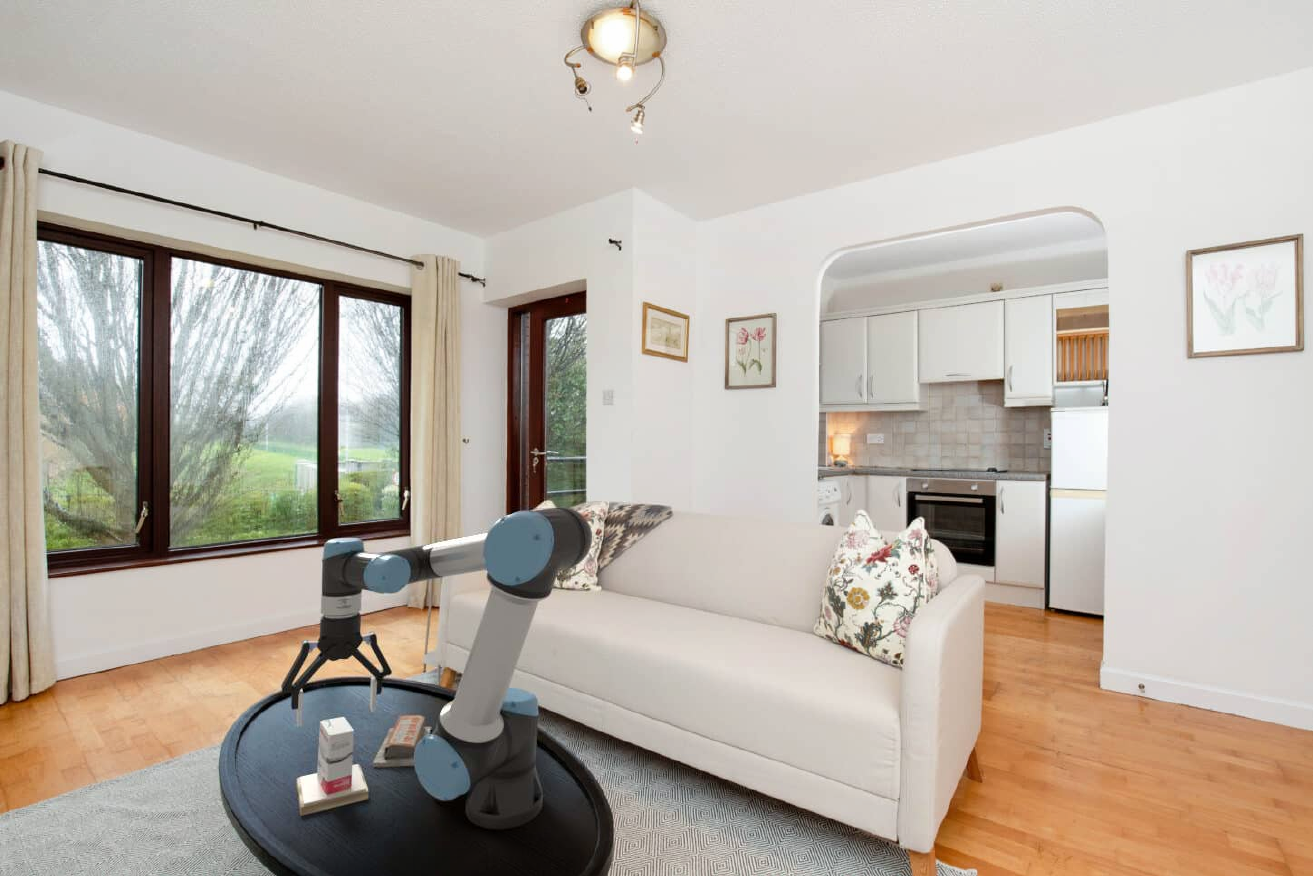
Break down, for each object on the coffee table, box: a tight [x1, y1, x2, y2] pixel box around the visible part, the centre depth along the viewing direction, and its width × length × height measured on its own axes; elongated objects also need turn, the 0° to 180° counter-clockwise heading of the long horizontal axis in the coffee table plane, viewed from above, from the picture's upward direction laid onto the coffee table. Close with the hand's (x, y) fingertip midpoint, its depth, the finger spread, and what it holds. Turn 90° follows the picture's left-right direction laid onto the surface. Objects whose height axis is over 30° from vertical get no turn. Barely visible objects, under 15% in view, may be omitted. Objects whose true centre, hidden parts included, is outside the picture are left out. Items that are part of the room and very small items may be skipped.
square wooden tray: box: [296, 763, 370, 817], centre depth 128 cm, size 12×12×2 cm
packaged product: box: [372, 714, 433, 768], centre depth 148 cm, size 18×5×10 cm
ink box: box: [316, 716, 355, 795], centre depth 129 cm, size 8×5×12 cm, turn 41°
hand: (337, 717), depth 128 cm, fingers open, 13 cm apart
